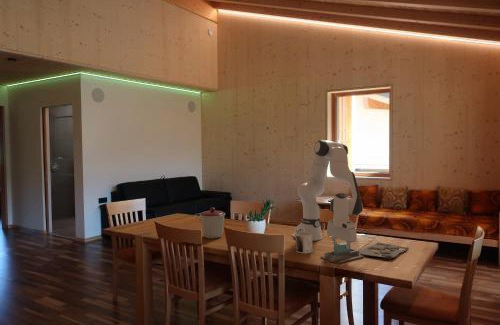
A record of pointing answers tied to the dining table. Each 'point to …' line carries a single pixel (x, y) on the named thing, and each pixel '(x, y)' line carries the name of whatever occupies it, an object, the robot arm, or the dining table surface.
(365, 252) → the stone relief
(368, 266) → the dining table surface
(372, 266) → the dining table surface
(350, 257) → the track sill
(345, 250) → the teal box
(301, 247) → the mug
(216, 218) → the canister
